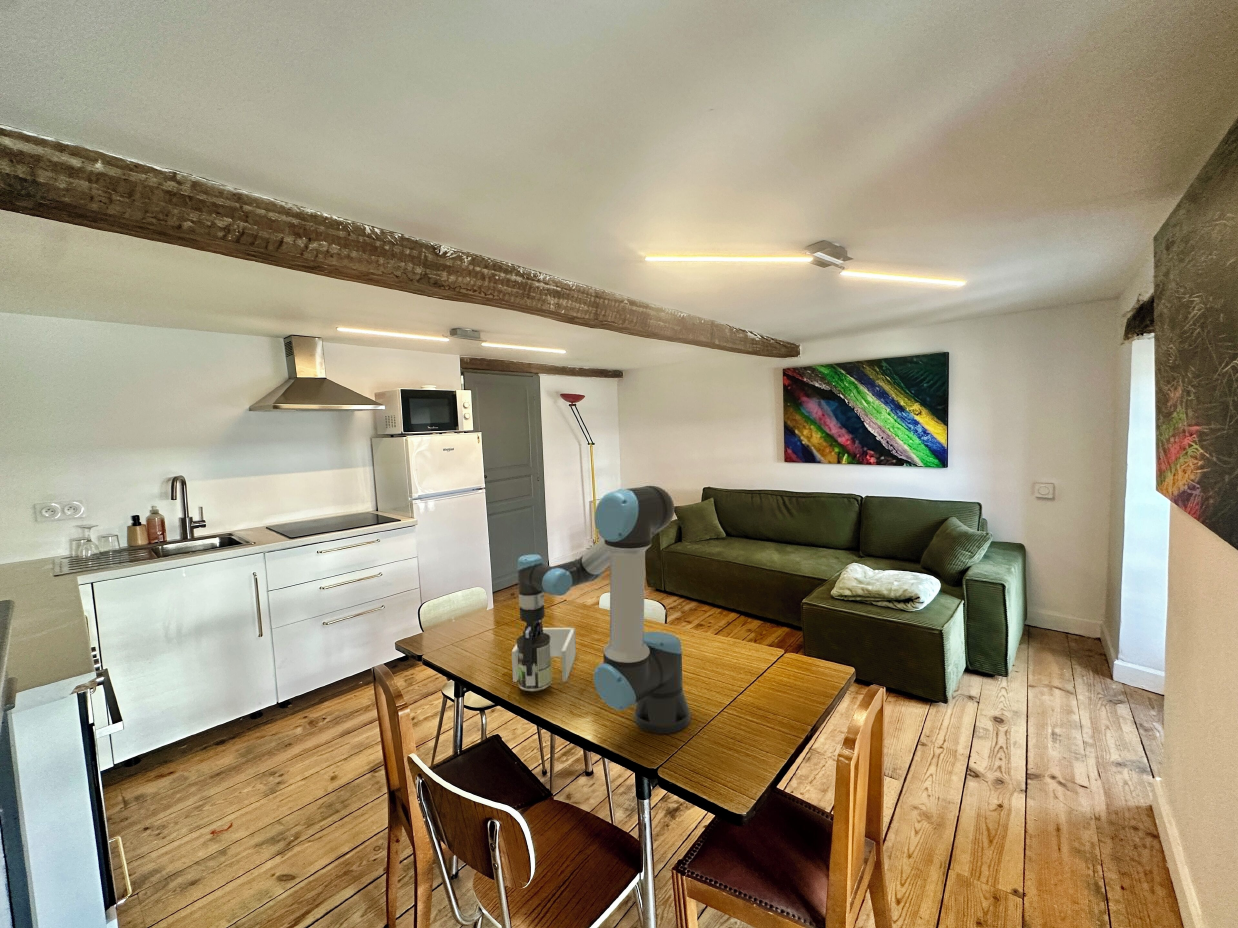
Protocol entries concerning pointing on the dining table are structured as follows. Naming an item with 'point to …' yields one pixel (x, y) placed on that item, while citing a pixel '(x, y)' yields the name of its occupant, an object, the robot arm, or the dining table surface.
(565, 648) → the white u-shaped bracket
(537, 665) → the coffee can
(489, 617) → the dining table surface
